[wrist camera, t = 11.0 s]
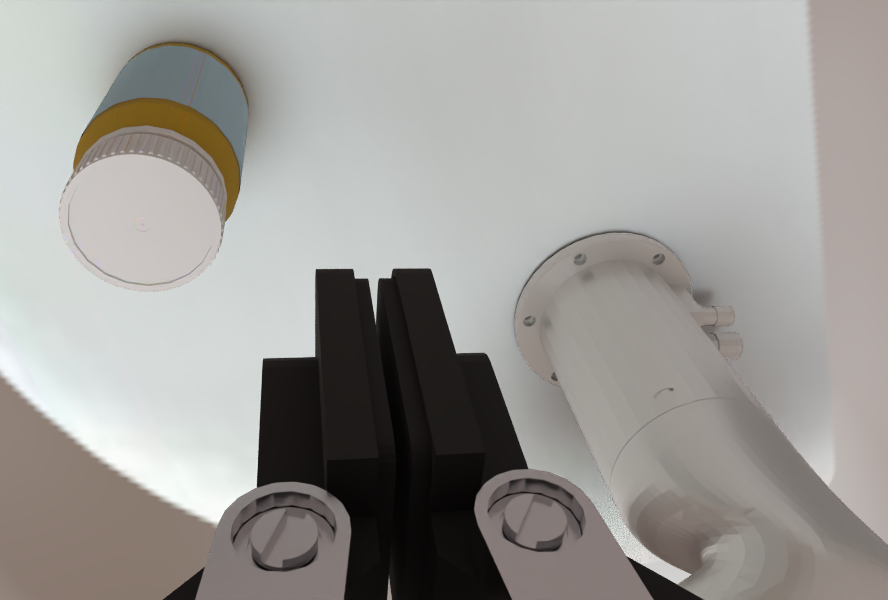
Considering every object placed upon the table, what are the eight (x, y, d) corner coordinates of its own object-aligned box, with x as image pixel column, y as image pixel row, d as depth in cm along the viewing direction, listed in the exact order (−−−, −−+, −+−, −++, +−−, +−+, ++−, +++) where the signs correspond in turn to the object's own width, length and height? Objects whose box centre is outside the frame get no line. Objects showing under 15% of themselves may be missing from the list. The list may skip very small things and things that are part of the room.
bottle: (133, 18, 41) (66, 115, 29) (265, 68, 44) (255, 177, 31) (103, 139, 44) (30, 274, 32) (228, 179, 47) (206, 319, 34)
